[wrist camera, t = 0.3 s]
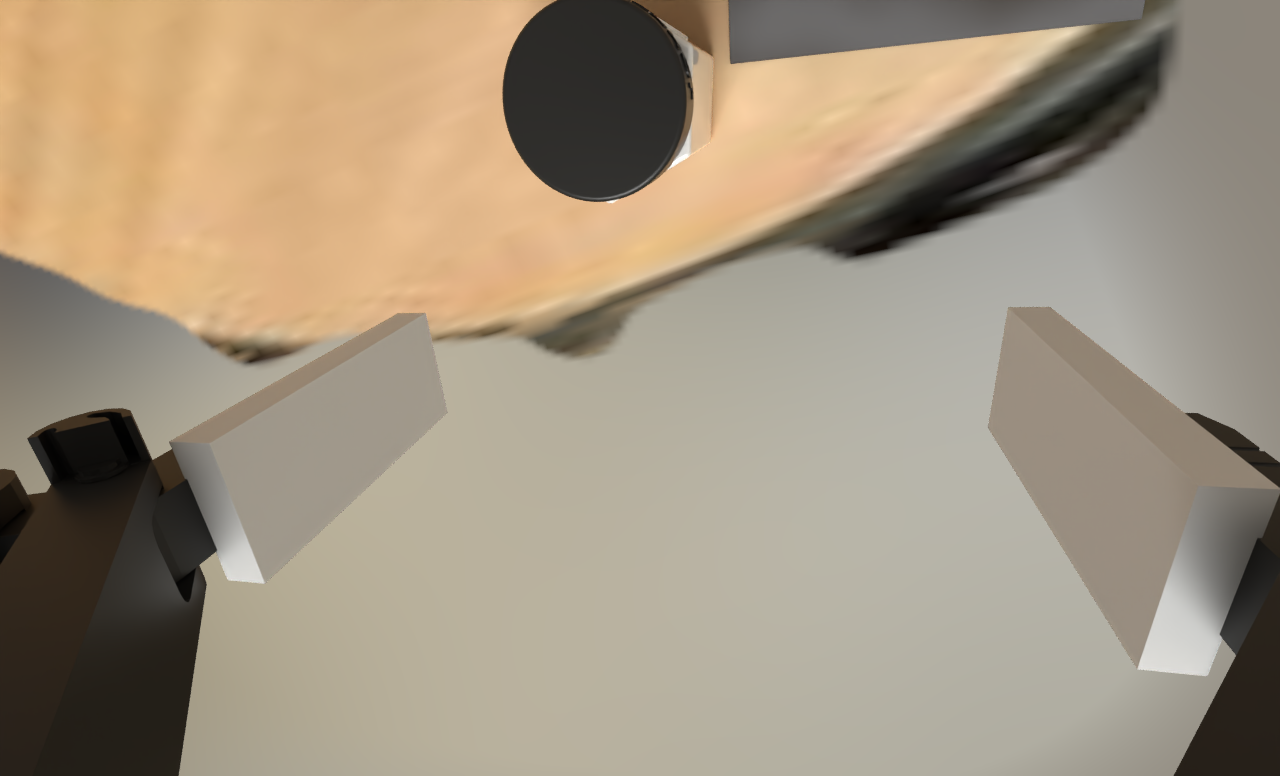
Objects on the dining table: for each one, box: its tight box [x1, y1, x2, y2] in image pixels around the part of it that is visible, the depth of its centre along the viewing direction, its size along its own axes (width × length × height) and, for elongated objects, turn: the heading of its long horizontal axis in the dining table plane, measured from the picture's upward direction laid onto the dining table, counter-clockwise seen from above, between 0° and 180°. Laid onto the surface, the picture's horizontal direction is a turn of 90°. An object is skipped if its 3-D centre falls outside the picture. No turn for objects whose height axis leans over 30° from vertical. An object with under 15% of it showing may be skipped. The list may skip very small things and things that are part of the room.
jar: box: [503, 0, 714, 203], centre depth 32 cm, size 9×8×12 cm
